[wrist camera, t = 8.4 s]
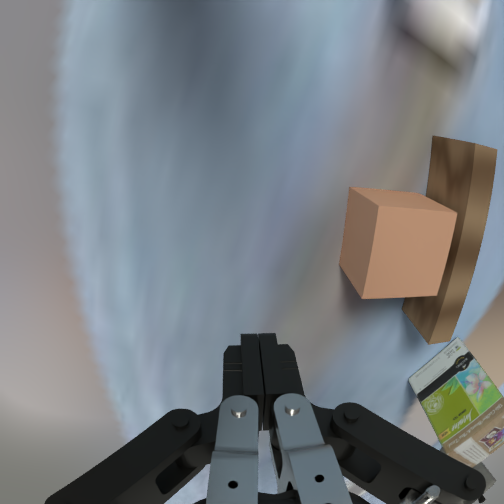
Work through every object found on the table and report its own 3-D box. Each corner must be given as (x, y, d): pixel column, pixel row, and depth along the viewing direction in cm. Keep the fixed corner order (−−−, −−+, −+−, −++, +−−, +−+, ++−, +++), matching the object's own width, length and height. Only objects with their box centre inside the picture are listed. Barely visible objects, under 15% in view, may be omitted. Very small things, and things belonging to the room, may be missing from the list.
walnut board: (432, 135, 27) (475, 143, 21) (454, 140, 27) (497, 149, 21) (401, 309, 35) (428, 344, 28) (421, 307, 35) (449, 341, 29)
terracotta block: (349, 186, 29) (378, 205, 23) (418, 193, 30) (457, 212, 23) (338, 263, 32) (361, 299, 26) (405, 264, 33) (436, 295, 26)
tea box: (404, 379, 40) (445, 457, 26) (457, 334, 38) (512, 403, 24) (437, 409, 45) (471, 471, 31) (481, 373, 42) (522, 430, 29)
